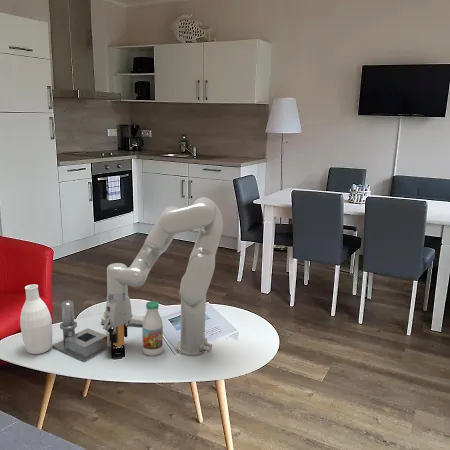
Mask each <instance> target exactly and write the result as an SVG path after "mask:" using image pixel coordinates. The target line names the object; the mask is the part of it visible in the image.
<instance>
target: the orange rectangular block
mask: <svg viewBox="0 0 450 450" xmlns="http://www.w3.org/2000/svg"><path fill="white" fill-rule="evenodd" d="M115 333H116V334H117V342H116V343H113V342H112V346H113V345H115V346H117V347H120V346H122V345H124V346H125V337H124V324H123V325H121V326H119V327H116V331H115Z"/></svg>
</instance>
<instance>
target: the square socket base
mask: <svg viewBox="0 0 450 450" xmlns="http://www.w3.org/2000/svg"><path fill="white" fill-rule="evenodd" d="M60 304H61V318H62V321H61V323H60V325H59V328H60V330H62V337H63V340H60V341H58V342H56V343H54V344H52V346H51V348H52V349H54V350H56V351H59V352H61V353H63V354H66V355H68V356H70V357H72V358H74V359H76V360H79V361H81V362H83V363H85V362H87V361H89V360H90V359H93V358H95V357H96V356H98V355H101V354H102V353H103V352H105V351H107V350H110V349H111V345H110V344H108V335H107V334H104V333H101V332H99V331H96V330H94V329H90V328H88V327H87V328H85V329H83V330H80V331H78V332H77V333H76V330H75V329H76V328H77V327H78V323H77V321H75V313H74V312H75V309H74V308H75V307H74V301H73V300H71V299H70V300H69V299H67V300H64V301H62V302H61V303H60Z"/></svg>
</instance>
